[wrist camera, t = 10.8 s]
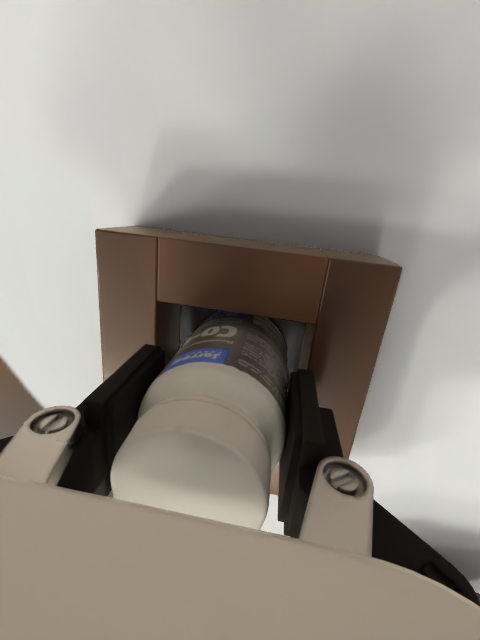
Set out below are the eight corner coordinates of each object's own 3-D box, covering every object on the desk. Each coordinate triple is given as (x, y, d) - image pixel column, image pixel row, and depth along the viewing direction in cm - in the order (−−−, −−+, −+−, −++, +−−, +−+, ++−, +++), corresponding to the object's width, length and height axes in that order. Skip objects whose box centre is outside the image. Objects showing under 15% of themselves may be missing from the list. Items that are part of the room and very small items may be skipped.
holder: (378, 255, 13) (403, 266, 10) (327, 457, 16) (335, 507, 14) (133, 225, 14) (93, 228, 11) (135, 421, 18) (107, 461, 15)
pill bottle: (240, 285, 14) (181, 374, 6) (307, 357, 15) (329, 520, 7) (173, 345, 16) (58, 479, 8) (236, 408, 16) (189, 589, 8)
